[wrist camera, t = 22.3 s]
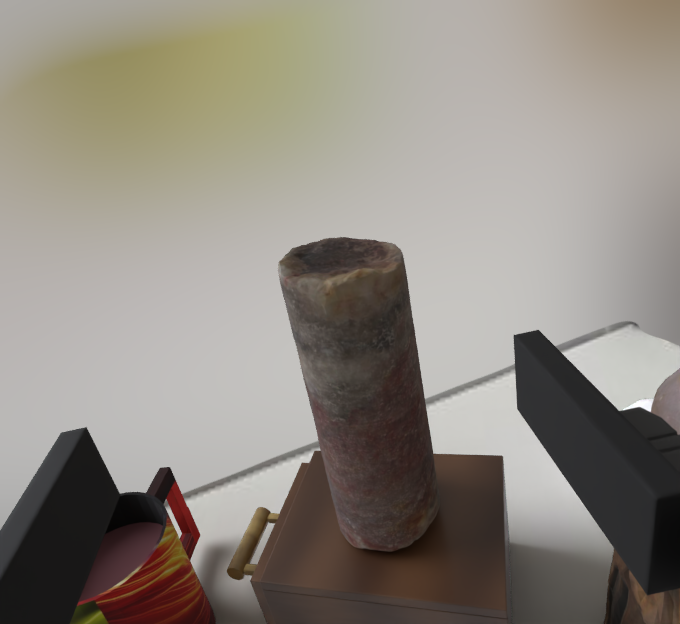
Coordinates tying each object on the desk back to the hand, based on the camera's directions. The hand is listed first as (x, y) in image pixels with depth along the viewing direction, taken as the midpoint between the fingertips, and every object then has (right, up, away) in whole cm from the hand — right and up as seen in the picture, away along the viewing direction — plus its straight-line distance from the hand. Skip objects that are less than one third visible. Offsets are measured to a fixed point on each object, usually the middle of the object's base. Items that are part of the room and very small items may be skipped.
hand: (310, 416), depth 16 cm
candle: (+5, -11, +21) cm, 25 cm away
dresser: (+6, -20, +25) cm, 33 cm away
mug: (-14, -23, +28) cm, 39 cm away
